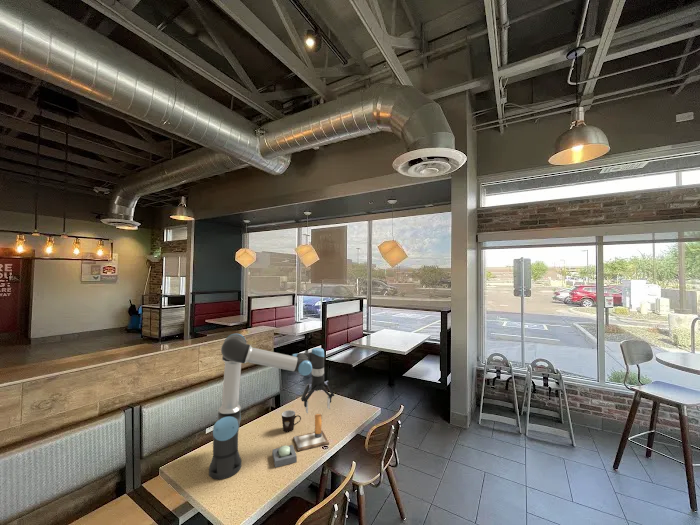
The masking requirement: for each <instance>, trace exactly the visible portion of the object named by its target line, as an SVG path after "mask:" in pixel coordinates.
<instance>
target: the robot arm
mask: <svg viewBox="0 0 700 525" xmlns="http://www.w3.org/2000/svg"><path fill="white" fill-rule="evenodd" d="M324 350H325V349H323V348H322V347H313V348H312V349H311V352H301V353H300V352H299V353H298V352H297V353H292V354H291V355H289V354H285V353H280V352H275V351H270V350H266V349H261V348H258V347H257V348H256V347H252V345H251V344H247V340H246V338H245V336H243V335H242V334H240V333H232V334H230V335H228V336H227V337H226V338H225V339H224V341H223V344H222V345H221V348H220V351H221V355H222V361H223V363H224V372H223V387H222V399H221V406H220V407H219V408H218V411H217V412H218V413H217V421H216V422H215V423H214V425H213V429H212V458H211V461H210V465H209V467H208V475H209V477H210V478H211V479H214V480H225V479H227V478H228V479H229V478H230V477H233V476H235V475H236V474H237V473H238V472H240V470H241V468H242V458H241V455H240V453H239V431H240V425H241V424H240V423H241V419H242V416H241V415H242V413H241V411H242V410H241V409H242V407H241V405H240V404H239V400H240V385H241V372H242V364H244V365H245V364H247V363H251V364H255V365H260V366H266V367H269V368H275V369H279V370H280V369H281V370H285V371H290V372H295V373H299V375H301V376H305V377H306V376H309V375H310V374H311V383H306V384H305V385H306V386H305V389H304V391H303V393H302V395H301V397H300V400H301V402H303V405H304V408H305V413H306V414H308V413H309V399H310V397H311V396H312V395H313V394H314V392H318V391H321V390H322V391H323V392H324V393H325V394H326V395H327V397H326V398H327V400H326V403H327V407H326V408H327V409H328V410H330V409H331V404H332V399H333V397H334V396H335V393H334V391H333V388H331V386H330V381H329V380H326V381H325V351H324ZM325 386H327V389H328V390H329V392H330V393H329V392H328V390H327V389H326V388H325ZM309 389H310V390H309Z"/></svg>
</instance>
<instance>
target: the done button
mask: <svg viewBox="0 0 700 525" xmlns="http://www.w3.org/2000/svg"><path fill="white" fill-rule="evenodd" d="M289 446H290V445H281V446H280V447H278V448H279V456H278V458H282V457H286V456H290V447H289Z"/></svg>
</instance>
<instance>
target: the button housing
mask: <svg viewBox="0 0 700 525" xmlns="http://www.w3.org/2000/svg"><path fill="white" fill-rule="evenodd" d="M288 446H289V447H290V456H286V457H282V458H280V457H279V448H280V447H277V448H273V449H272V458H273V463H274V464H273V465H274V468H280V467H283V466H287V465H290V464H295V463H297V459H298V457H297V454H296V450H295V448H294V447H295V446H294V445H293V444H290V445H288Z"/></svg>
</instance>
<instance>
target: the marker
mask: <svg viewBox="0 0 700 525" xmlns="http://www.w3.org/2000/svg"><path fill="white" fill-rule="evenodd" d="M322 419H323V418H322V414H321V413H316V414H314V432H315V437H316V438H320V437H321V436H322V431H323V430H322V425H323V424H322Z"/></svg>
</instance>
